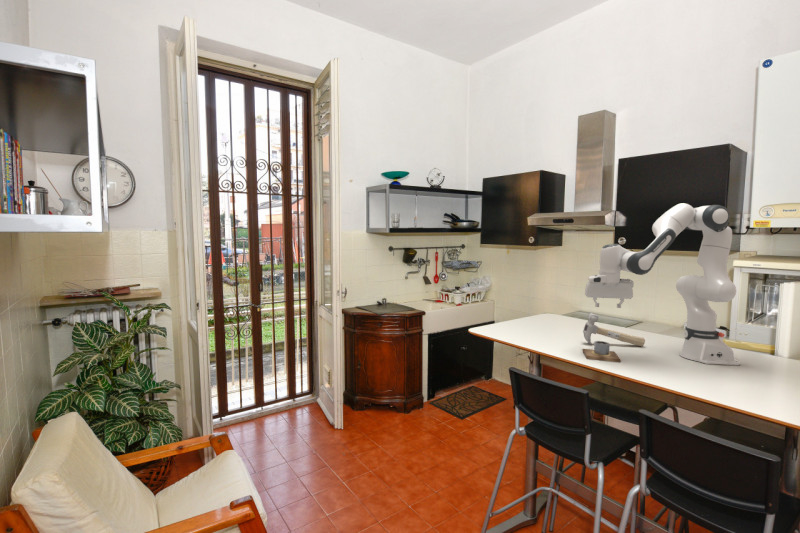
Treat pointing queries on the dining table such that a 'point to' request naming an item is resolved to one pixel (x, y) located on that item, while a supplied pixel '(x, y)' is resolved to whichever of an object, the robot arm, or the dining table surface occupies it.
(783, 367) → the dining table surface
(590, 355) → the post board
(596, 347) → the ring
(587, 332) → the hammer
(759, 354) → the dining table surface
